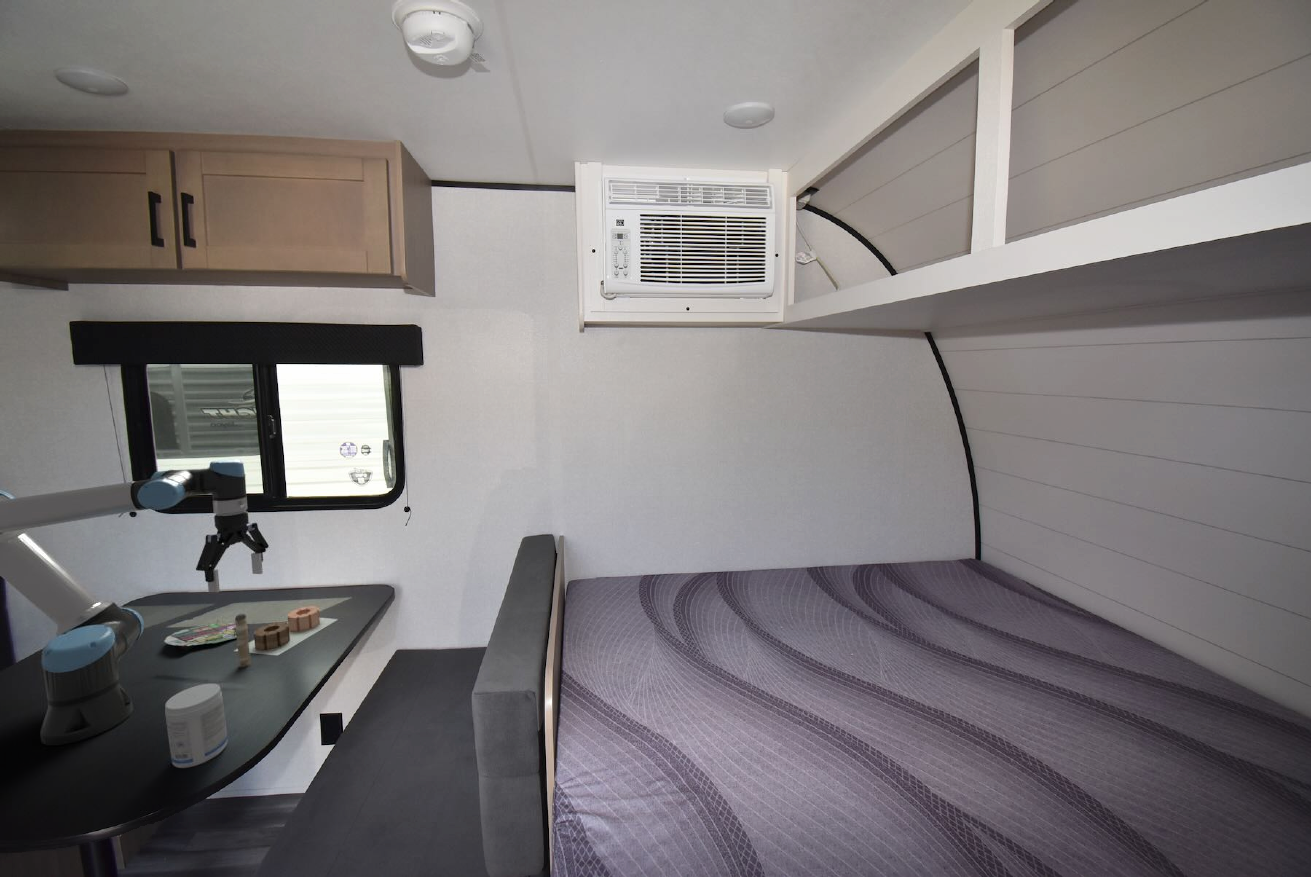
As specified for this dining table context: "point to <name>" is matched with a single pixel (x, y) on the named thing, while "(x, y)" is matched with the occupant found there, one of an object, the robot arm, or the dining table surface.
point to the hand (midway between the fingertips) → (236, 582)
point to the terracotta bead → (303, 618)
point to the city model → (203, 635)
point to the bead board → (292, 638)
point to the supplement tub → (196, 725)
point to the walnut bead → (271, 636)
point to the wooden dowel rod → (242, 640)
